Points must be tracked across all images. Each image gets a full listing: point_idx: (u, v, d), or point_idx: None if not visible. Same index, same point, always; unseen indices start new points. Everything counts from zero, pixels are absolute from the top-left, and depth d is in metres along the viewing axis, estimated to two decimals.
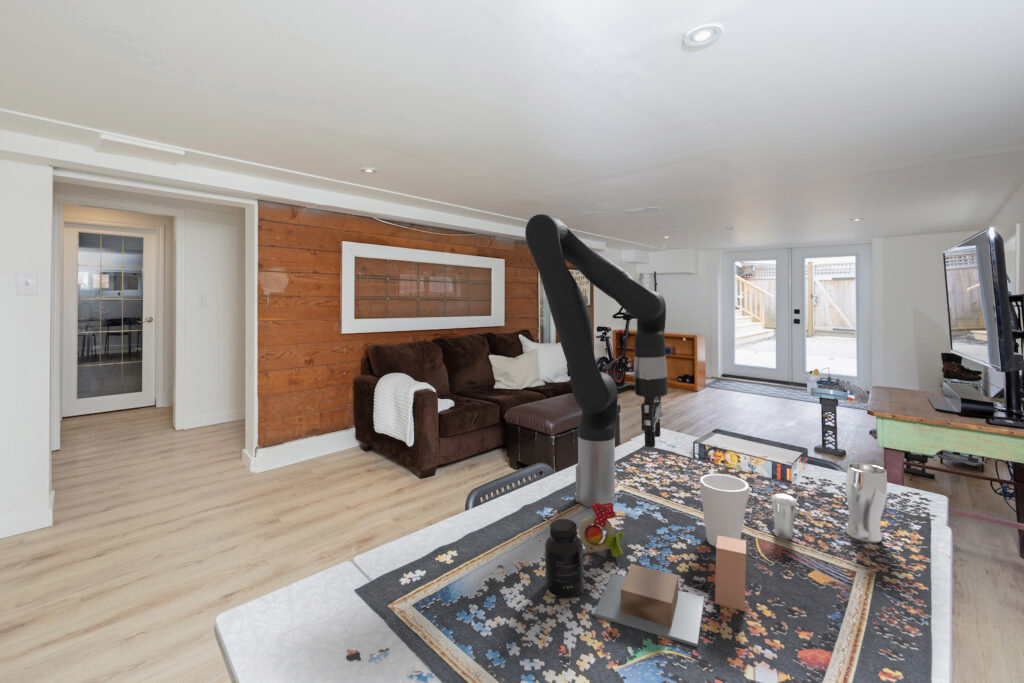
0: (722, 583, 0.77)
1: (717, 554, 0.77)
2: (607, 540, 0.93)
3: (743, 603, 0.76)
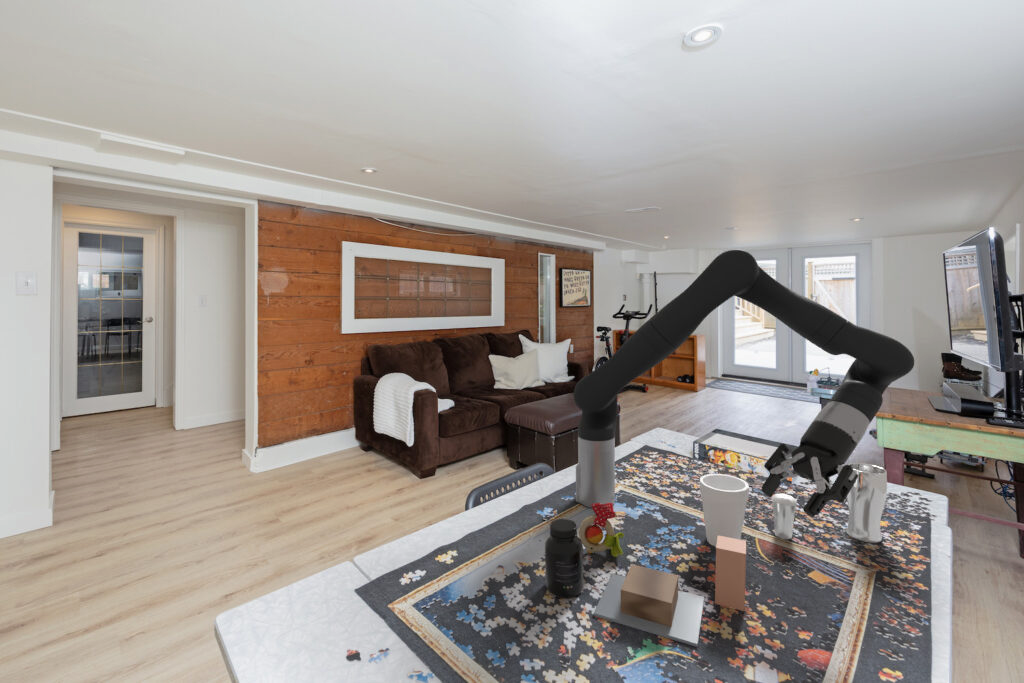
0: (722, 583, 0.77)
1: (717, 554, 0.77)
2: (607, 540, 0.93)
3: (743, 603, 0.76)
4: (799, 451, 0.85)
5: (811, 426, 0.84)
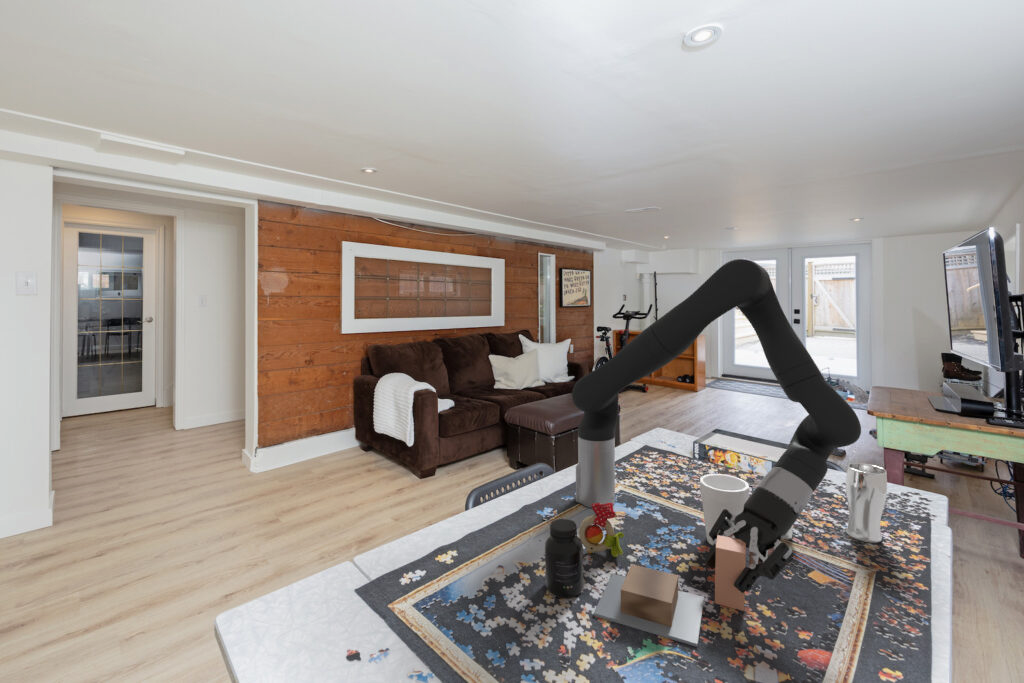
0: (722, 583, 0.77)
1: (717, 554, 0.77)
2: (607, 540, 0.93)
3: (743, 603, 0.76)
4: (742, 518, 0.82)
5: (754, 493, 0.81)
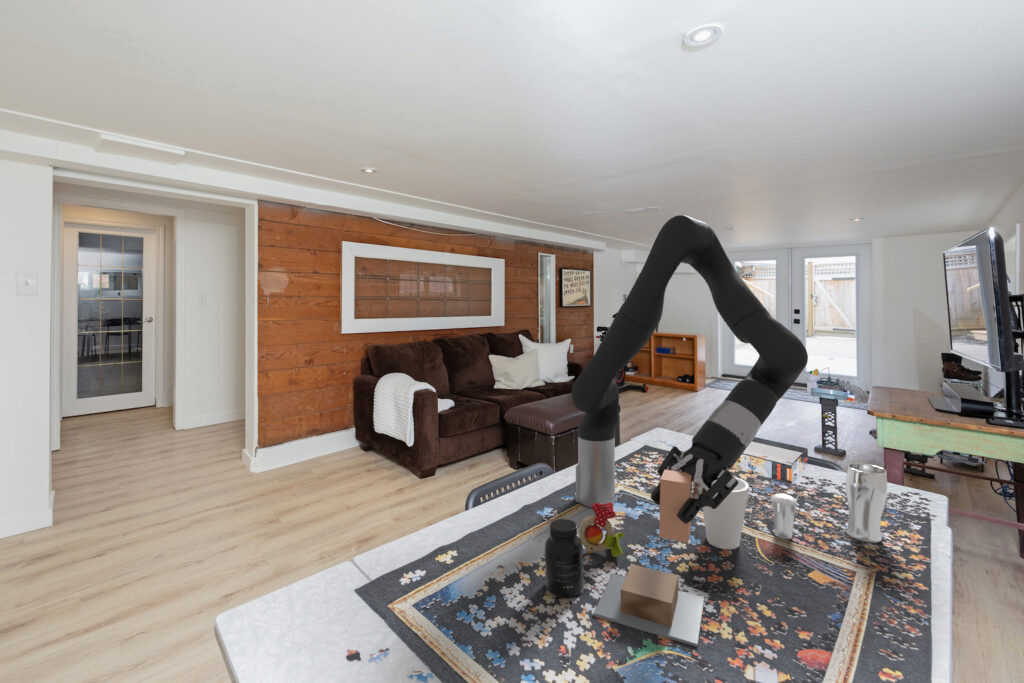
0: (666, 516, 0.75)
1: (661, 486, 0.75)
2: (607, 540, 0.93)
3: (687, 535, 0.74)
4: (690, 452, 0.80)
5: (702, 426, 0.79)
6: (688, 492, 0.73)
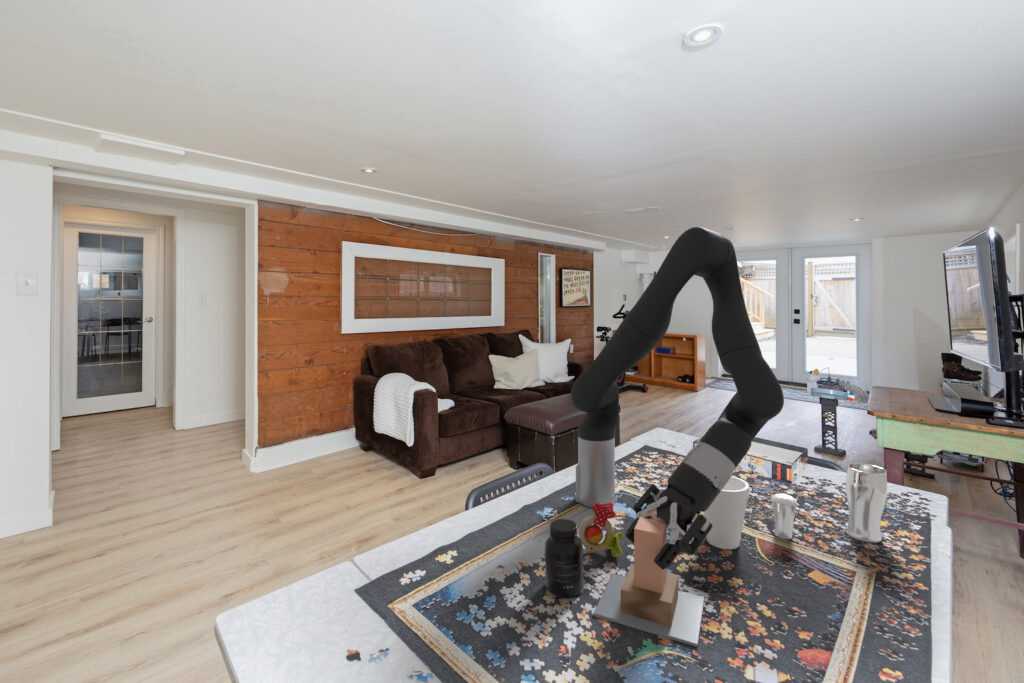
0: (640, 566, 0.75)
1: (635, 535, 0.75)
2: (607, 540, 0.93)
3: (661, 585, 0.74)
4: (665, 494, 0.80)
5: (677, 468, 0.79)
6: (661, 543, 0.73)
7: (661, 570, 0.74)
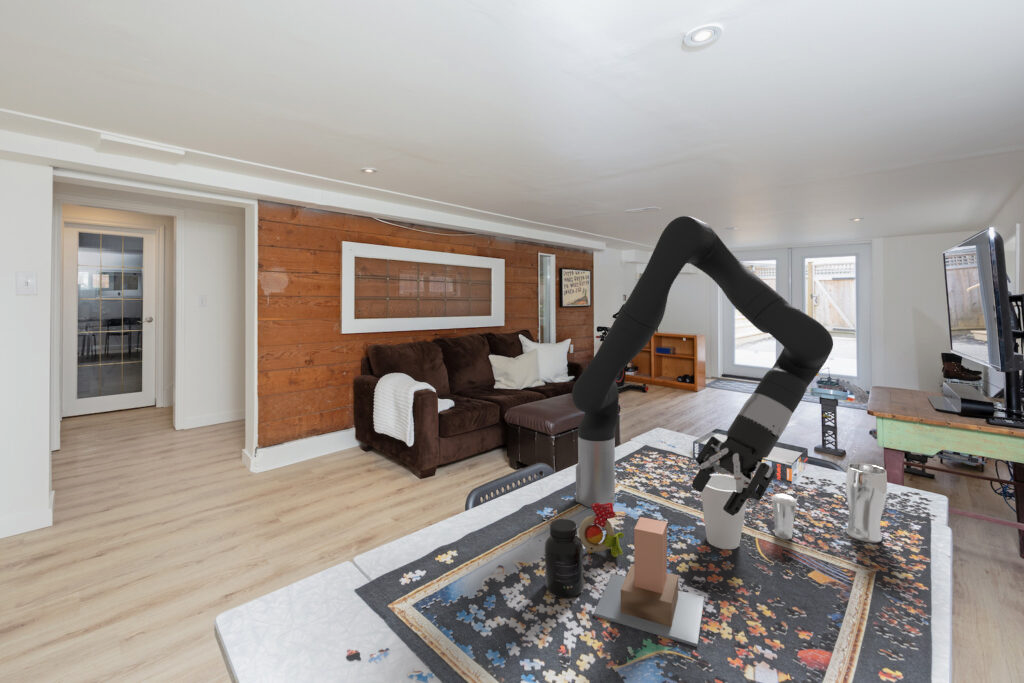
0: (640, 566, 0.75)
1: (635, 535, 0.75)
2: (607, 540, 0.93)
3: (661, 585, 0.74)
4: (725, 445, 0.84)
5: (734, 420, 0.83)
6: (661, 543, 0.73)
7: (661, 570, 0.74)
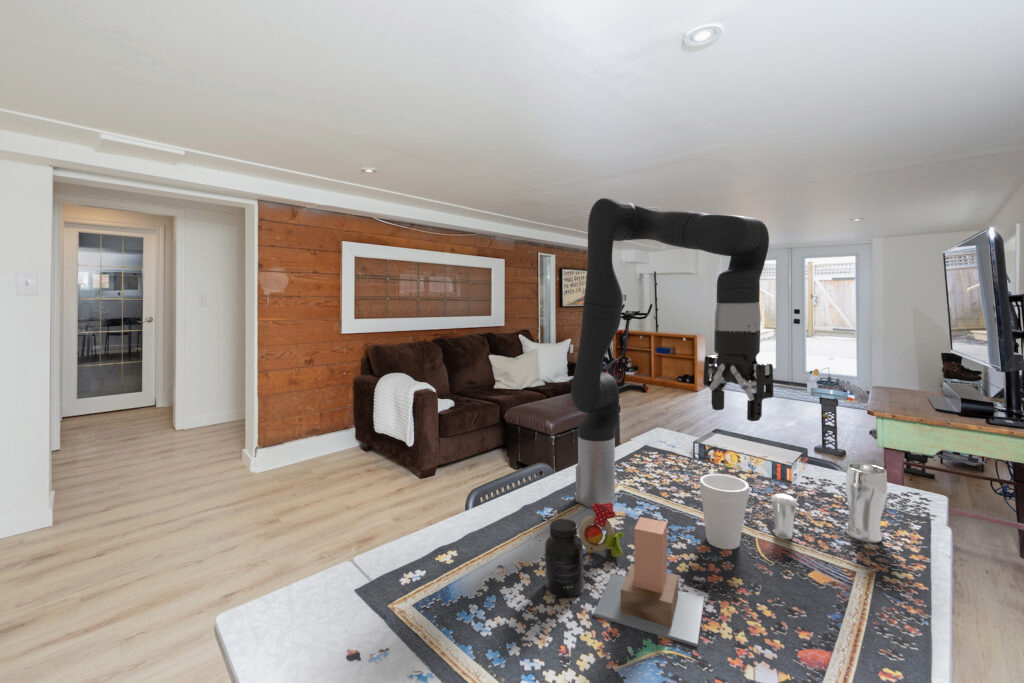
0: (640, 566, 0.75)
1: (635, 535, 0.75)
2: (607, 540, 0.93)
3: (661, 585, 0.74)
4: (720, 360, 0.86)
5: (715, 337, 0.84)
6: (661, 543, 0.73)
7: (661, 570, 0.74)
